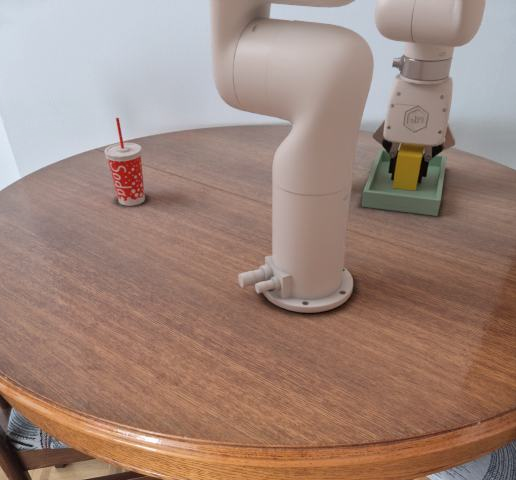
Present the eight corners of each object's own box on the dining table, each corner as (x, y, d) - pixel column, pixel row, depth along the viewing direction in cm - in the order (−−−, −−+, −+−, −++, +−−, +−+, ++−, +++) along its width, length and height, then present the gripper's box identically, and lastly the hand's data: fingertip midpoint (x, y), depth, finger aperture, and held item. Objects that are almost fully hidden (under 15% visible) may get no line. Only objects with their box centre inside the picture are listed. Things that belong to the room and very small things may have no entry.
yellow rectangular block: (415, 190, 95) (421, 157, 91) (392, 188, 96) (397, 154, 92) (419, 174, 100) (425, 142, 96) (397, 172, 101) (402, 139, 97)
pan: (437, 216, 90) (440, 200, 88) (361, 206, 93) (363, 191, 91) (443, 169, 104) (446, 155, 102) (377, 162, 107) (379, 148, 105)
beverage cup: (107, 200, 96) (90, 119, 87) (135, 189, 99) (121, 109, 90) (128, 211, 93) (112, 127, 84) (156, 199, 96) (144, 117, 87)
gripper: (368, 70, 85) (356, 181, 97) (480, 78, 81) (453, 193, 93) (375, 59, 91) (363, 165, 103) (481, 65, 87) (455, 175, 99)
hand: (406, 177), depth 98 cm, fingers closed on yellow rectangular block, 4 cm apart
